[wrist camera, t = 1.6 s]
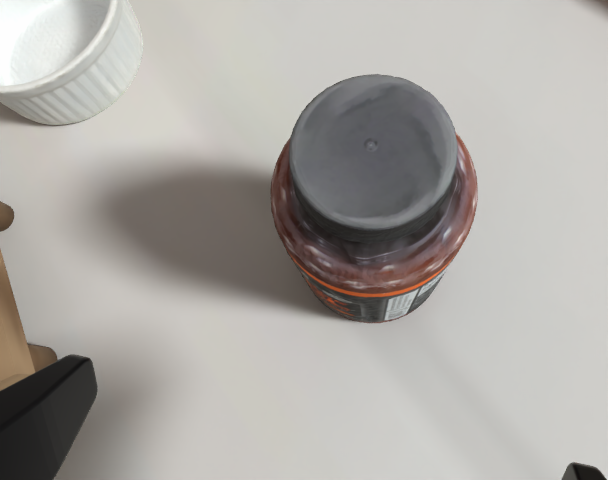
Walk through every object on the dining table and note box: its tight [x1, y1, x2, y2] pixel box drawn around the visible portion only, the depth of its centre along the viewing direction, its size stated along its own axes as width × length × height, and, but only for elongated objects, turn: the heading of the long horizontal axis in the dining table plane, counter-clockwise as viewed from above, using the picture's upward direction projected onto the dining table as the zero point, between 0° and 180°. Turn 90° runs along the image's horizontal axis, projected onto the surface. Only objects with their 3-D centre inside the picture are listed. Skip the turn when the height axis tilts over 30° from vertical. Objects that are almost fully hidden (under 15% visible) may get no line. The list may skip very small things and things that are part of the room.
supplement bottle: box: [271, 74, 478, 323], centre depth 18 cm, size 6×6×11 cm
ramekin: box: [0, 0, 143, 125], centre depth 26 cm, size 9×9×4 cm
